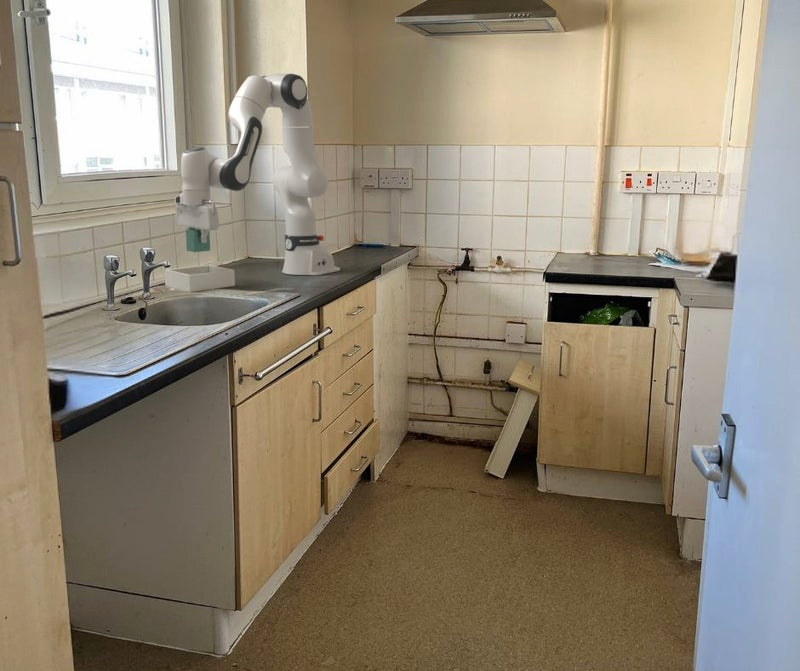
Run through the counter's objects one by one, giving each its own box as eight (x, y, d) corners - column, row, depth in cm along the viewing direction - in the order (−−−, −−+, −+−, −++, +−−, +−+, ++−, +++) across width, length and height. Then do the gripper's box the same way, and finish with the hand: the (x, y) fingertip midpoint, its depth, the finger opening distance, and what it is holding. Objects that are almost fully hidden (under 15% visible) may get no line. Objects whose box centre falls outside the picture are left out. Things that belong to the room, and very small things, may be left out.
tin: (202, 249, 264) (201, 228, 262) (210, 250, 261) (209, 229, 259) (186, 250, 260) (185, 229, 258) (194, 252, 257) (193, 230, 255)
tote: (210, 282, 274) (209, 264, 273) (235, 287, 264) (234, 270, 263) (165, 287, 262) (164, 269, 261) (190, 294, 252) (189, 275, 251)
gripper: (223, 200, 252) (224, 244, 255) (188, 197, 265) (190, 238, 269) (205, 201, 247) (207, 245, 250) (171, 197, 261) (173, 239, 264)
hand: (198, 241), depth 260 cm, fingers closed on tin, 4 cm apart
